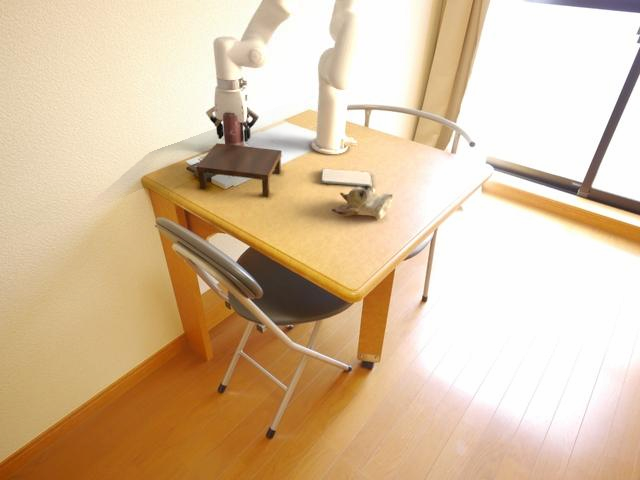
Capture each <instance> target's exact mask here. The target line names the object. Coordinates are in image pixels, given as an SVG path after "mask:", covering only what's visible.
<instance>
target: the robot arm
mask: <svg viewBox="0 0 640 480" xmlns="http://www.w3.org/2000/svg"><path fill="white" fill-rule="evenodd" d="M300 1H301V0H261V2H260V3H259V5H258V7H257V9H255V12H254V13H253V15H252V17H251V18H250V21H249V22H248V24H247V26H246V28H245V30H244V32H243V34H242V36H241V38H240V40H239V39H238V38H236V37H233V36H218V37H216V38H215V39H214V40H213V56H214V65H215V77H216V87H215V88H214V104H213V105H214V106H213V107H210V108H209V109H207V110H206V112H205V114H206V115H207V117H208V118H209V120H210V121H211V122H212V123H213V125H214V127H216V135H217V138H218V139H219V140H221V139H222V138H223V137H224V127H223V114H224V113H225V112H226V113H234V114H235V115H236V116H237V119H238V122H240V123H242V124H243V128H244V129H243V136H244V143H247V142H248V141H249V140H250V139H251V138H252V137H251V136H252V135H251V128H252V127H253V126H254V125H255V124H256V123H257V121H258V120H259V118H260V117H259V115H258V114H257V113H256V112H254V111H253V110H251V109H250V102H249V96H248V92H247V88H246V87H245V86H248V81H247V80H245V79H244V77H243V67H244V68H251V69H260V68H262V67H264V66H265V65H266V64H267V63H268V61H269V57H270V56H269V48H267V46H268V43H269V42H270V40H271V38H272V37H273V35H274V33H275V31H276V30H277V29H278V27H279V26H280V25H282V24H283V23H284V22H285V21H287V20H289V18H291V16H293V14H294V13H295V10H296V8H297V7H298V6H299V3H300ZM366 2H367V0H335V1H334V5H333V10H332V14H331V18H330V22H329V29H328V30H329V35H330V37H331V39H332V40H333V41H334V45H333V47H329V48H327V49H326V50H324V51H323V52H322V53H321V55H320V57H319V60H318V65H317V67H318V68H317V74H318V75H317V76H318V77H317V78H318V98H317V99H318V100H317V116H316V117H317V118H316V138H314V139H313V140H311V148H312V149H313V150H314V151H315V152H318V153H321V154H325V155H338V154H342V153H344V152H347V150H348V149H349V148H348V147H349V146H350V147H357V144H358V143H357V142H358V140H355V138H354V137H348V136H347V134H346V132H345V130H346V123H347V122H346V120H347V112H348V111H347V110H348V102H349V90H350V89H351V88H353V87H354V86H355V84H356V83H357V82H358V80H359V77H360V75H361V72H362V68H363V66H364V65H363V64H364V61H365V57H366V54H367V50H368V47H369V41H370V37H371V36H370V35H371V33H370V32H371V31H370V26H369V23H368V21H367V19H366V18H365V17H364V10H365V6H366ZM249 118H251V121H250V120H249Z"/></svg>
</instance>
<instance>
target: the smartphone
mask: <svg viewBox="0 0 640 480" xmlns="http://www.w3.org/2000/svg"><path fill="white" fill-rule="evenodd" d="M371 175H372V174H371V172H369V171H363V170H362V171H361V170H348V169H339V168H338V169H336V168H322V169H321V179H320V180H321V183H323V184H332V185H333V184H334V185H347V186H356V187H365V186H366V185H368V186H371V187H372V185H373V183H372V176H371Z"/></svg>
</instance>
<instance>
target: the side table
mask: <svg viewBox="0 0 640 480" xmlns="http://www.w3.org/2000/svg"><path fill="white" fill-rule="evenodd" d="M195 168H196V170H195V171H196V172H197V176H198V182H199V183H198V184H199V189H200V190H206V189H207V188H208V186H209V185H208V179H207V174H212V175H218V176H219V175H221V176H229V177H237V178H245V179H254V180H260V181H261V190H262V197H263V198H269V196H270V178H271V176H272V174H273V173H274V174H276V175H280V174H281V172H282V150H281V149H280V150H279V149H271V148H263V147H254V146H245V145H244V146H237V145H228V144H225V143H218V142H217V143H215V144H214V146H212V148H211V149H210V150H209V151H208V152H207V153H206V155H205V156H204V157H203V158H201V160H200V161H199V162H198V163H197V165H196V166H195Z"/></svg>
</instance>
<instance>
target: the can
mask: <svg viewBox="0 0 640 480" xmlns="http://www.w3.org/2000/svg"><path fill="white" fill-rule="evenodd" d="M222 125H223V131H224V136H223V137H224V144H228V145H237V146H245V141H244V126H243V124H242V123H240V122H238V119H237V116H236V115H235V114H234V113H226V112H225V113H224V114H223V121H222Z"/></svg>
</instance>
